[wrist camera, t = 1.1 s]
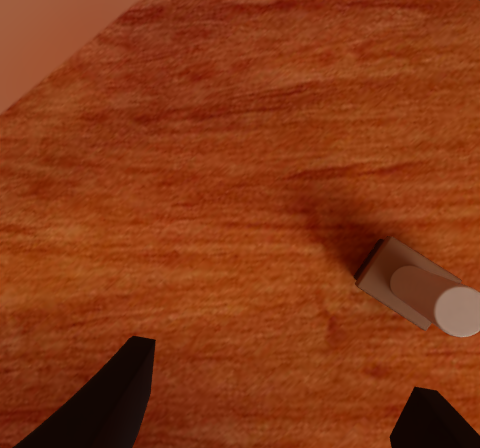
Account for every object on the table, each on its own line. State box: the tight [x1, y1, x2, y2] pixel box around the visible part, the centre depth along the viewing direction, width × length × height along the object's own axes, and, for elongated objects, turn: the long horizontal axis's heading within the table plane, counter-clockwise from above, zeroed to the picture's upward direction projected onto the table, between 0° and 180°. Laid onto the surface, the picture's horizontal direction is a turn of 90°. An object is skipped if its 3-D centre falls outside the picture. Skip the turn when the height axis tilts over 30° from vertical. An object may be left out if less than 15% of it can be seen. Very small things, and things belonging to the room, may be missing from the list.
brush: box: [354, 236, 480, 337], centre depth 18 cm, size 4×3×9 cm
